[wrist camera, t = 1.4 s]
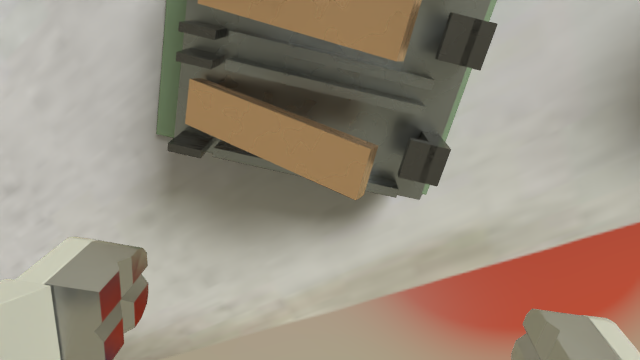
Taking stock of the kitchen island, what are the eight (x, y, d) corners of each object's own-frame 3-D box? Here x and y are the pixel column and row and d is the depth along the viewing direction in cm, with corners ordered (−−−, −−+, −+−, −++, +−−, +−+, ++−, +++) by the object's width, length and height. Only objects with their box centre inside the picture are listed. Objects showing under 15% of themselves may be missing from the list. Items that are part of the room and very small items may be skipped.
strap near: (210, 5, 24) (197, 3, 23) (216, -49, 23) (203, -54, 22) (403, 61, 19) (396, 61, 19) (422, -4, 18) (415, -7, 17)
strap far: (196, 121, 27) (184, 123, 26) (201, 77, 26) (189, 78, 25) (363, 195, 22) (355, 200, 21) (378, 145, 21) (370, 149, 20)
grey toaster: (196, 124, 32) (156, 159, 25) (219, -82, 27) (177, -112, 20) (408, 172, 33) (428, 220, 26) (471, -17, 28) (519, -24, 21)
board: (159, 131, 33) (156, 133, 33) (180, -137, 26) (177, -140, 26) (424, 191, 35) (426, 194, 34) (511, -50, 28) (515, -51, 27)
